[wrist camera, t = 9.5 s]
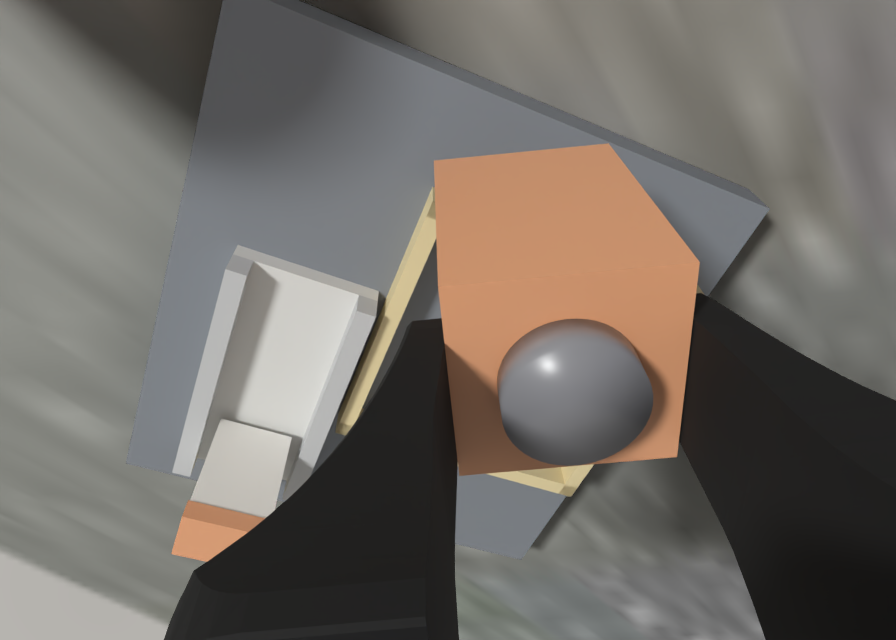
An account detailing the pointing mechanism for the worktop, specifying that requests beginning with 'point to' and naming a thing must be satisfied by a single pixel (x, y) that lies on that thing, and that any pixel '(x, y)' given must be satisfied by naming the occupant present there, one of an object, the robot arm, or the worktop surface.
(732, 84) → the worktop surface
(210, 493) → the block
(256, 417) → the panel
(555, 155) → the cap
